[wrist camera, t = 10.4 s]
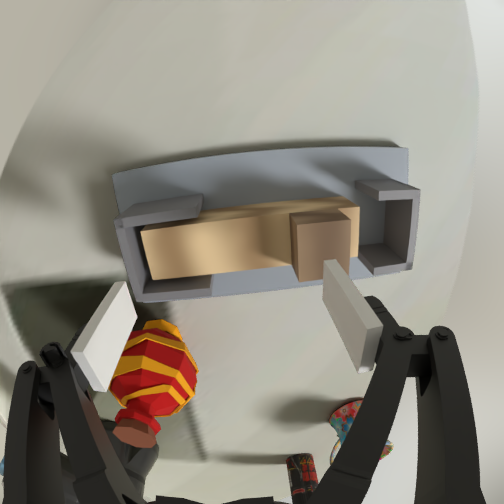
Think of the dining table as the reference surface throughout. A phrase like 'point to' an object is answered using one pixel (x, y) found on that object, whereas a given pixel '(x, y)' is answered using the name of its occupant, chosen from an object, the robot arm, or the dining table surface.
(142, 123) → the dining table surface
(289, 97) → the dining table surface
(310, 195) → the grey slat holder base
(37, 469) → the robot arm
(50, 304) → the dining table surface
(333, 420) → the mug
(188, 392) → the potion bottle
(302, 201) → the tan stepped wooden block
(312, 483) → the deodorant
